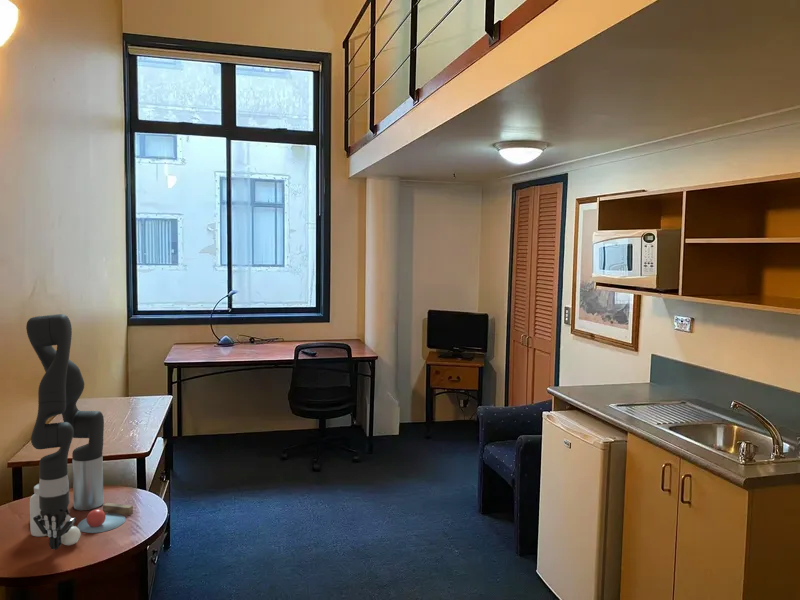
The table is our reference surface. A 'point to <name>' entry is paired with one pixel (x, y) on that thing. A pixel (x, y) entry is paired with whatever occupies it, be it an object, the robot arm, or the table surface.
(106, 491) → the table surface
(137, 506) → the table surface
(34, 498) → the pill bottle
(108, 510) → the strip
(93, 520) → the red ball
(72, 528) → the cue ball
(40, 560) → the table surface
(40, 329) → the robot arm
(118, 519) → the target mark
